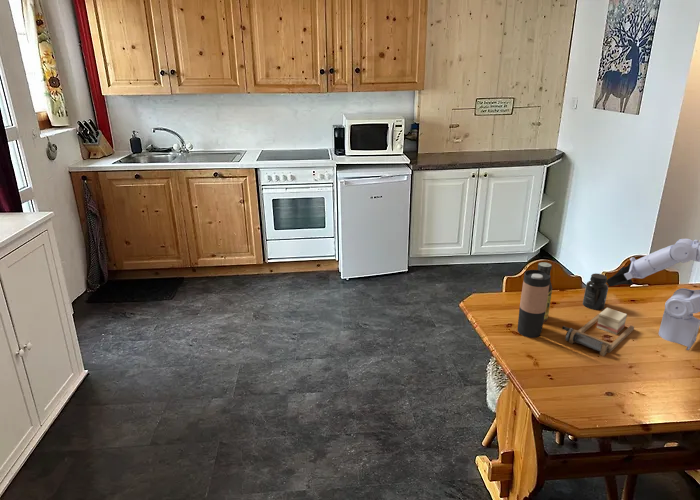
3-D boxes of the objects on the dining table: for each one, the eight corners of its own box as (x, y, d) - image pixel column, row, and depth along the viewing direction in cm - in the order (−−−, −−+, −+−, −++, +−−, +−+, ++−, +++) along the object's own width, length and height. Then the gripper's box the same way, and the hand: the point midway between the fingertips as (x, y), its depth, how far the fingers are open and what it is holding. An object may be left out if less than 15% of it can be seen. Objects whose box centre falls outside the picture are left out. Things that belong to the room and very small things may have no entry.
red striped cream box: (624, 327, 155) (627, 314, 153) (616, 334, 151) (619, 320, 149) (604, 320, 159) (607, 307, 157) (596, 327, 155) (599, 313, 153)
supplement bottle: (607, 312, 166) (614, 280, 162) (587, 312, 166) (593, 280, 162) (598, 302, 173) (604, 272, 168) (578, 302, 173) (584, 271, 168)
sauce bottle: (548, 325, 158) (558, 269, 151) (528, 323, 159) (536, 268, 152) (545, 315, 164) (554, 261, 157) (526, 314, 165) (533, 260, 158)
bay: (632, 332, 154) (635, 322, 153) (608, 355, 142) (610, 345, 141) (597, 319, 162) (599, 310, 160) (571, 340, 150) (573, 330, 148)
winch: (607, 355, 142) (610, 340, 141) (601, 360, 140) (604, 345, 138) (563, 337, 151) (566, 323, 149) (557, 342, 149) (560, 328, 147)
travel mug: (514, 334, 153) (522, 276, 146) (518, 323, 160) (526, 267, 152) (540, 340, 150) (549, 281, 143) (543, 329, 156) (552, 272, 149)
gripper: (654, 245, 154) (614, 263, 164) (637, 257, 144) (597, 275, 154) (666, 265, 152) (626, 282, 162) (651, 278, 143) (609, 294, 153)
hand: (612, 280), depth 158 cm, fingers open, 7 cm apart
